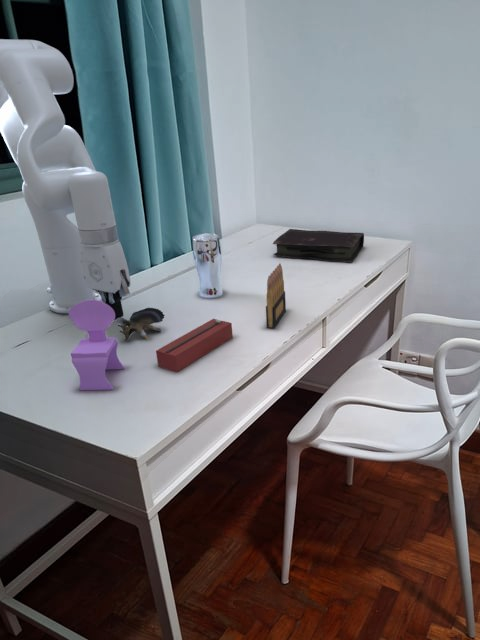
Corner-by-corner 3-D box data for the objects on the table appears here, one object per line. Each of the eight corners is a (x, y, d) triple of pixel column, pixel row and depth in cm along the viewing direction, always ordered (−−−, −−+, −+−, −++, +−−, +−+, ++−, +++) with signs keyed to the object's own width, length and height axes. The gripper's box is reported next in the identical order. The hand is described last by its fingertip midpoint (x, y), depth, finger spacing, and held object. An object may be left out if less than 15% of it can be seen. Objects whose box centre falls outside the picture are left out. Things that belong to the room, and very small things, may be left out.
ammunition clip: (274, 328, 121) (272, 277, 115) (266, 328, 121) (264, 276, 115) (286, 311, 130) (284, 262, 124) (278, 310, 130) (276, 261, 124)
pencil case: (158, 366, 107) (155, 348, 105) (214, 333, 120) (213, 316, 118) (177, 372, 104) (174, 353, 102) (232, 337, 118) (231, 320, 116)
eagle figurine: (138, 344, 113) (171, 323, 118) (118, 315, 112) (152, 295, 116) (128, 351, 119) (159, 332, 124) (108, 324, 118) (141, 305, 123)
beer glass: (220, 299, 138) (214, 240, 130) (194, 298, 139) (187, 240, 131) (228, 290, 143) (223, 233, 136) (203, 289, 145) (197, 232, 137)
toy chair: (72, 391, 99) (53, 315, 91) (88, 368, 106) (71, 296, 99) (118, 390, 99) (102, 314, 91) (130, 368, 106) (116, 295, 99)
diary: (290, 242, 183) (290, 227, 180) (363, 246, 176) (364, 231, 173) (272, 258, 168) (271, 242, 165) (351, 263, 161) (352, 247, 158)
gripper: (60, 236, 113) (80, 318, 122) (110, 243, 106) (127, 329, 115) (89, 228, 118) (105, 307, 127) (138, 234, 111) (152, 317, 120)
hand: (116, 317), depth 121 cm, fingers closed
